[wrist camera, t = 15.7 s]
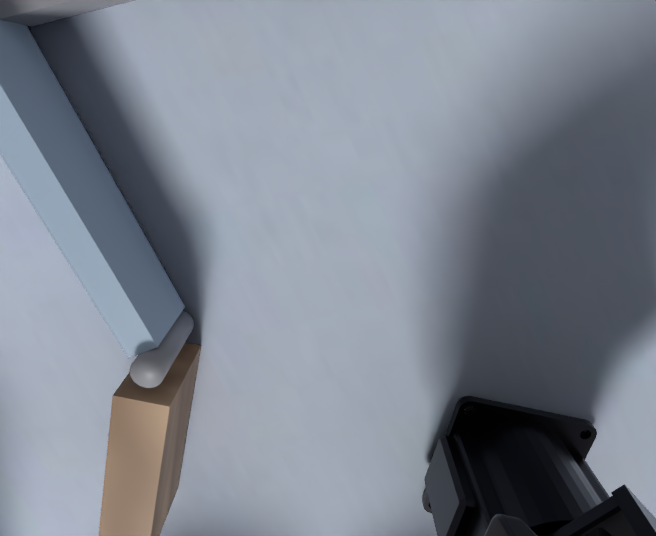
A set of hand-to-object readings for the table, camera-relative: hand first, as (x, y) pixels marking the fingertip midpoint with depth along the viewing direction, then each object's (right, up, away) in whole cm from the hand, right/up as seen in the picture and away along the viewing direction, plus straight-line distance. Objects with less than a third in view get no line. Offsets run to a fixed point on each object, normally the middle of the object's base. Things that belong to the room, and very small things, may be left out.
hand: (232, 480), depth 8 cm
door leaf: (-8, +9, +10) cm, 16 cm away
